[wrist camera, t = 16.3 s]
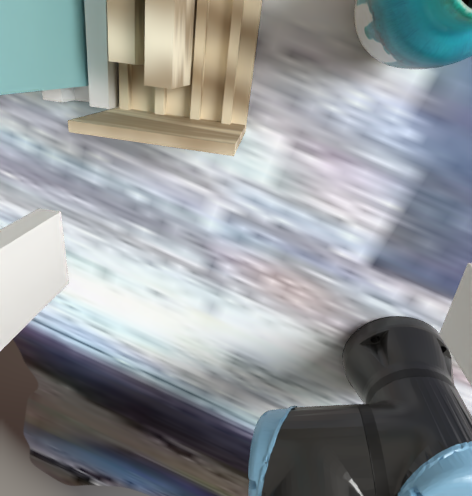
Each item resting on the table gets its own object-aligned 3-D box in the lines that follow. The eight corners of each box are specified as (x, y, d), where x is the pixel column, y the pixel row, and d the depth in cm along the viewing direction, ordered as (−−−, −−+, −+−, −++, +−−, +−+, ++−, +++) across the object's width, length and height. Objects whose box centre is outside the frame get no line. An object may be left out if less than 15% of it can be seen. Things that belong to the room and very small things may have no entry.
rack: (245, 131, 45) (233, 156, 33) (124, 114, 45) (68, 132, 33) (276, -108, 35) (275, -199, 23) (120, -126, 36) (40, -225, 24)
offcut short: (156, 65, 41) (134, 64, 35) (134, 61, 41) (108, 61, 35) (158, -47, 37) (134, -71, 30) (134, -51, 37) (104, -74, 31)
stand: (122, 105, 45) (109, 109, 41) (61, 96, 45) (42, 99, 42) (119, -113, 36) (101, -133, 32) (43, -122, 36) (17, -143, 33)
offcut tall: (191, 84, 42) (171, 88, 34) (169, 81, 42) (144, 85, 34) (200, -61, 36) (178, -98, 28) (175, -65, 36) (146, -102, 28)
